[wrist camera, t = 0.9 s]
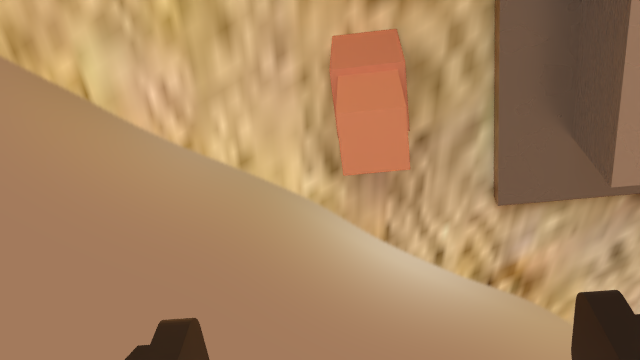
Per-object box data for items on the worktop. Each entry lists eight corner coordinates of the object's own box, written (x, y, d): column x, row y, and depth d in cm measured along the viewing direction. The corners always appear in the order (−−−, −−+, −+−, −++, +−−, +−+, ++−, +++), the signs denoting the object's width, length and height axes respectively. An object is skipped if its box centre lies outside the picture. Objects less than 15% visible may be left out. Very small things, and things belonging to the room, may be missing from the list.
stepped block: (332, 36, 29) (326, 106, 21) (396, 28, 28) (414, 97, 20) (339, 95, 30) (336, 183, 22) (400, 89, 30) (419, 175, 22)
